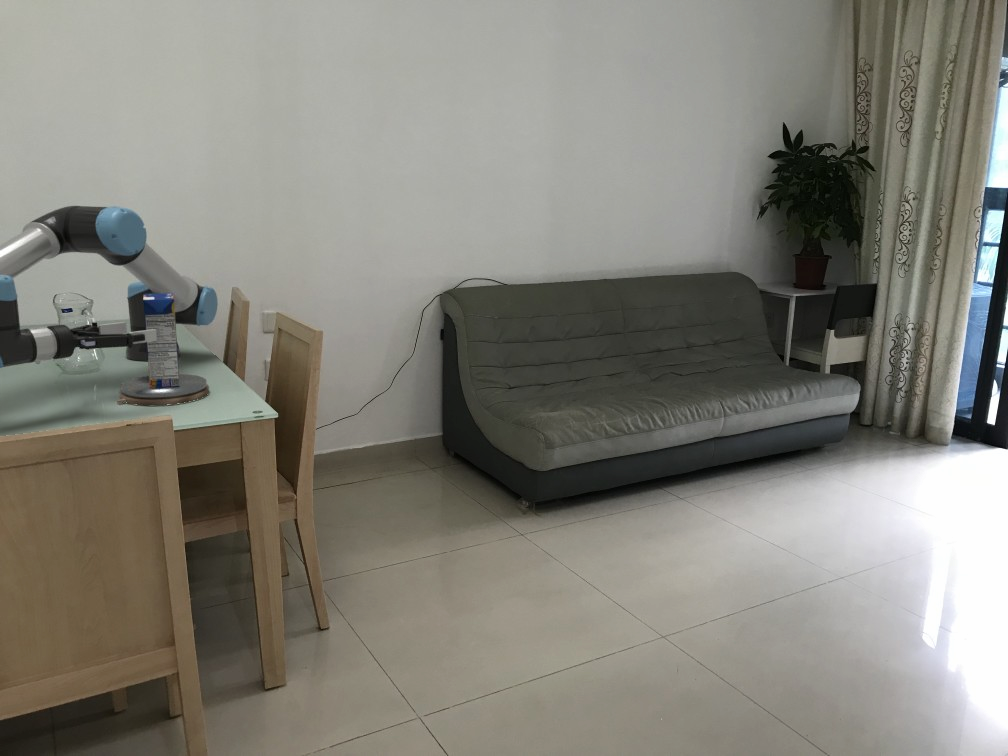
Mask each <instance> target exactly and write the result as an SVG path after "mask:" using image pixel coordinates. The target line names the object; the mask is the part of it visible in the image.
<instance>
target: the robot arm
mask: <svg viewBox="0 0 1008 756" xmlns="http://www.w3.org/2000/svg"><path fill="white" fill-rule="evenodd" d="M144 226H145V223H144V221H143V219H142V218H141V216H140V215H139V214H138V213H137V212H135V211H134V210H132V209H129V208H125V207H120V206H89V205H88V206H86V205H68V206H64V207H60V208H57V209H55V210H52V211H50V212H48V213H45V214H43V215H41V216H39V217H37V218H35V219H33V220H32V221H30V222H29V223H26V224H25V225H24V227H23V228H22V230H21V231H22V232H20V233H18V234H17V235H15V236H14V237H12V238H10V239H9V240H7V241H5V242H3V243H1V244H0V369H1V368H6V367H11V366H18V365H24V364H31V363H35V364H36V365H40V364H41V361H42V362H44V361H45V362H46V361H51V360H52V359H53V360H58V359H65V358H67V359H68V358H70V357H71V356H73V354H74V352H75V350H76V348H78V349H80V350H88V351H89V350H93V349H105V348H106V349H107V348H108V349H109V348H125V347H126V349H125V355H126V359H129V360H131V361H140V362H141V361H142V362H143V361H144V362H145V361H146V362H148V356H147V343H146V342H151V341H157V337H156V329H151V330H146V329H145V316H144V303H143V295H144V294H163V293H173V296H174V306H175V321H176V325H187V326H188V325H190V326H198V327H200V326H209V325H210V324H211V323H213V321H214V320H215V318H216V315H217V311H218V306H219V305H218V295H217V292H216V290H215V288H213V287H211V286H208V285H205V286H202V285H199V284H198V283H197V282H196V281H195V280H193V278H191V277H189V276H186V275H184V276H183V275H181V274H180V273H179V272H178V271H177V270H176V269H174V268H173V267H172V266H171V264H169V263H168V262H167V261H166V260H165V259H164V258H163V257H162V256H161V255H160V254H159V253H158V252H156V250H154V248H153V247H151V246H150V245H149V244H148V243H147V228H145V227H144ZM67 253H68V254H69V253H82V254H97V255H99V256H100V257H101V258H103V259H105V260H106V261H107V262H108V263H109V264H111V265H113V266H117V267H120V266H122V267H123V268H125V269H126V270H127V271H128V272H129V273H130V274H131V275H133V276H134V277H135V278H136V279H137V280H138V282H133V283H130V284H129V285H128V286H127V297H126V298H127V299H126V300H127V303H128V306H127V307H128V314H129V316H128V317H129V325H130V326H129V327H130V331H128V330H127V329H128V328H127V322H125V321H122V322H121V321H120V322H114V323H105V324H98V322H96V321H95V322H91V324H85V325H81V326H78V327H76V326H75V327H72V328H70V327H68V326H67V325H65V324H56V325H49V326H47V327H46V326H35V327H28V328H23V329H21V323H20V314H19V313H20V312H19V305H18V304H19V303H18V293H17V290H16V284H15V278H17V277H18V276H19V275H21V274H23V273H24V272H26V271H27V270H29V269H30V268H32V267H33V266H35V265H36V264H38V263H40V262H41V261H43V260H52V259H54V258H56V257H57V256H59V255H62V254H67ZM180 349H181V348H180V346H179V343H178V342H177V351H178V357H179V356H180V355H181V351H180Z"/></svg>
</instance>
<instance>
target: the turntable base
mask: <svg viewBox="0 0 1008 756" xmlns="http://www.w3.org/2000/svg"><path fill="white" fill-rule="evenodd" d="M209 386H210V385H209V384H207V388H206V389H205V390H203V391H202V392H199V393H196V394H193V395H189V396H184V397H178V398H169V399H137V398H131V397H127V396H125V395H123V394H122V393H121V389H120V390H119V392H118V393H119V395H118V396H119V399H116V405H118V404H121V405H123V404H122V403H126V402H127V403H130V404H129V405H131V404H137V405H167V404H177V403H184V402H189V401H193V400H197V399H200V398H202V397H204V396H206V395H207V394H208V393H209V394H210V387H209ZM209 394H208V395H209ZM208 395H207V396H208ZM207 396H206V397H207ZM204 398H205V397H204ZM202 399H203V398H202ZM200 400H201V399H200ZM197 401H198V400H197ZM193 402H194V401H193ZM127 403H126V404H127ZM189 403H190V402H189ZM184 404H185V403H184ZM137 405H136V406H137ZM177 405H178V404H177Z"/></svg>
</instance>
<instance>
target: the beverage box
mask: <svg viewBox="0 0 1008 756" xmlns="http://www.w3.org/2000/svg"><path fill="white" fill-rule="evenodd" d="M143 303H144V316H145V329H146V330H151V329H156V337H157V341H151V342H146V343H147V356H148V361H147V367H148V369H147V370H148V376H149V383H150V389H157V388H173V387H180V382H179V374H180V370H179V369H180V367H179V356H178V351H177V343H178V341H177V340H178V339H177V338H178V337H177V326H176V325H177V324H176V321H175V306H174V296H173V293H163V294H144V295H143Z"/></svg>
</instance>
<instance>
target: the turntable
mask: <svg viewBox="0 0 1008 756" xmlns="http://www.w3.org/2000/svg"><path fill="white" fill-rule="evenodd" d="M179 382H180V387H173V388H157V389H150V383H149V375H145V376H140V377H134V378H132V379H131V378H130V379H129V380H126V381H125V382H122V384H121V385H120V390H121V393H122V394H123V395H125V396H127V397H131V398H137V399H169V398H178V397H184V396H189V395H193V394H196V393H199V392H202V391H203V390H205V389H206V388H207V385H208V384H207V379H206V378H204V377H203V376H199V375H195V374H187V373H185V374H184V373H179Z"/></svg>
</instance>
